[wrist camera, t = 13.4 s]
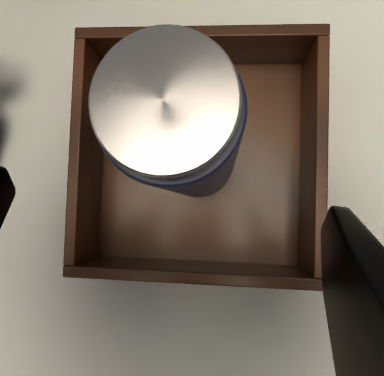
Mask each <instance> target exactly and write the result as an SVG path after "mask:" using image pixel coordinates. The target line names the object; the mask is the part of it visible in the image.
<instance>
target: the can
mask: <svg viewBox="0 0 384 376" xmlns="http://www.w3.org/2000/svg"><path fill="white" fill-rule="evenodd" d="M88 108H89V117H90V121H91V125H92V128H93V131H94V133H95V136H96V138H97V140H98V141H99V143H100V146H101V147H102V149H103V151H104V153H105V154H106V156H107V157H108V158H109V160H110V161H111V162H112V163H113V164H114V165H115V166H116V167H117V169H119V170H120V171H121V172H123V173H124V174H125V175H127V176H128V177H130V178H132V179H133V180H136V181H138V182H140V183H143V184H146V185H150V186H153V187H157V188H161V189H165V190H169V191H172V192H176V193H180V194H184V195H188V196H192V197H205V196H209V195H212V194H214V193H216V192H218V191H219V190H220V189H221V188H222V187H224V186H225V184H226V183H227V182H228V180H229V178H230V176H231V173H232V170H233V167H234V164H235V160H236V157H237V154H238V150H239V147H240V144H241V141H242V137H243V134H244V130H245V127H246V122H247V115H248V103H247V95H246V91H245V87H244V84H243V81H242V79H241V76H240V74H239V73H238V71H237V69H236V68H235V66H234V64H233V63H232V61H231V59H230V58H229V56H228V55H227V54H226V52H225V51H224V50H223V49H222V48H221V47H220V46H219V45H218V44H217V43H216V42H215V41H214V40H212V39H211V38H209V37H208V36H206V35H204V34H203V33H201V32H199V31H196V30H194V29H191V28H188V27H184V26H179V25H156V26H150V27H146V28H143V29H140V30H138V31H135V32H133V33H131V34H129V35H128V36H126V37H124V38H123V39H121V40H120V41H119V42H118V43H116V44H115V45H114V46H113V47H112V48H111V49H110V50H109V51H108V52H107V53H106V55H105V56H104V57H103V59H102V60H101V62H100V63H99V65H98V67H97V69H96V71H95V73H94V76H93V78H92V82H91V85H90V91H89V102H88Z"/></svg>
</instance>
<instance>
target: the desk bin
mask: <svg viewBox="0 0 384 376" xmlns="http://www.w3.org/2000/svg"><path fill="white" fill-rule="evenodd" d="M184 27H188V28H191V29H194V30H196V31H199V32H201V33H203V34H204V35H206V36H208V37H209V38H211V39H212V40H214V41H215V42H216V43H217V44H218V45H219V46H220V47H221V48H222V49H223V50H224V51H225V52H226V54H227V55H228V56H229V58H230V59H231V61H232V63H233V64H234V66H235V68H236V69H237V71H238V73H239V74H240V76H241V79H242V81H243V84H244V87H245V91H246V95H247V103H248V115H247V122H246V127H245V130H244V134H243V137H242V141H241V144H240V147H239V150H238V154H237V157H236V160H235V164H234V167H233V170H232V173H231V176H230V178H229V180H228V182H227V183H226V184H225V186H224V187H222V188H221V189H220V190H219V191H218V192H216V193H214V194H212V195H209V196H205V197H192V196H188V195H184V194H180V193H176V192H172V191H169V190H165V189H161V188H157V187H153V186H150V185H146V184H143V183H140V182H138V181H136V180H133V179H132V178H130V177H128V176H127V175H125V174H124V173H123V172H121V171H120V170H119V169H117V167H116V166H115V165H114V164H113V163H112V162H111V161H110V160H109V158H108V157H107V156H106V154H105V153H104V151H103V149H102V147H101V146H100V143H99V141H98V140H97V138H96V136H95V133H94V131H93V128H92V125H91V121H90V117H89V108H88V102H89V91H90V85H91V82H92V78H93V76H94V73H95V71H96V69H97V67H98V65H99V63H100V62H101V60H102V59H103V57H104V56H105V55H106V53H107V52H108V51H109V50H110V49H111V48H112V47H113V46H114V45H115V44H116V43H118V42H119V41H120V40H121V39H123V38H124V37H126V36H128V35H129V34H131V33H133V32H135V31H138V30H140V29H143V28H146V27H93V28H75V42H74V62H73V82H72V102H71V123H70V143H69V163H68V183H67V203H66V224H65V244H64V265H65V266H64V267H63V277H71V278H90V279H108V280H126V281H145V282H163V283H182V284H200V285H219V286H237V287H256V288H274V289H293V290H311V291H323V289H322V269H321V237H320V234H321V227H322V225H323V222H324V220H325V218H326V215H327V194H328V122H329V49H330V36H329V35H330V24H283V25H220V26H184Z"/></svg>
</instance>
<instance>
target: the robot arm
mask: <svg viewBox="0 0 384 376" xmlns="http://www.w3.org/2000/svg"><path fill="white" fill-rule="evenodd" d="M14 196H15V186H14V184H13V182H12V180H11V178H10V175H9V173H8V171H7V169H6V168H4V167H2V166H0V228H1V226H2V224H3V222H4V219H5V217H6V215H7V212H8V210H9V208H10V206H11V203H12V201H13V199H14ZM320 237H321V269H322V289H323V296H324V303H325V309H326V315H327V322H328V328H329V334H330V341H331V347H332V353H333V360H334V366H335V373H336V376H384V246H383V245H382V244H381V243H380V242H379V241H378V240H377V239H376V237H375V236H374V235H373V234H372V233H371V232H370V231H369V230H368V229H367V228H366V226H365V225H364V224H363V223H362V222H361V221H360V220H359V219H358V218H357V217H356V216H355V214H354V213H353V212H352V211H351V210H350V209H349V208H347V207H340V206H332V207H330V209H329V211H328V213H327V215H326V218H325V220H324V222H323V225H322V227H321V234H320Z"/></svg>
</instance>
